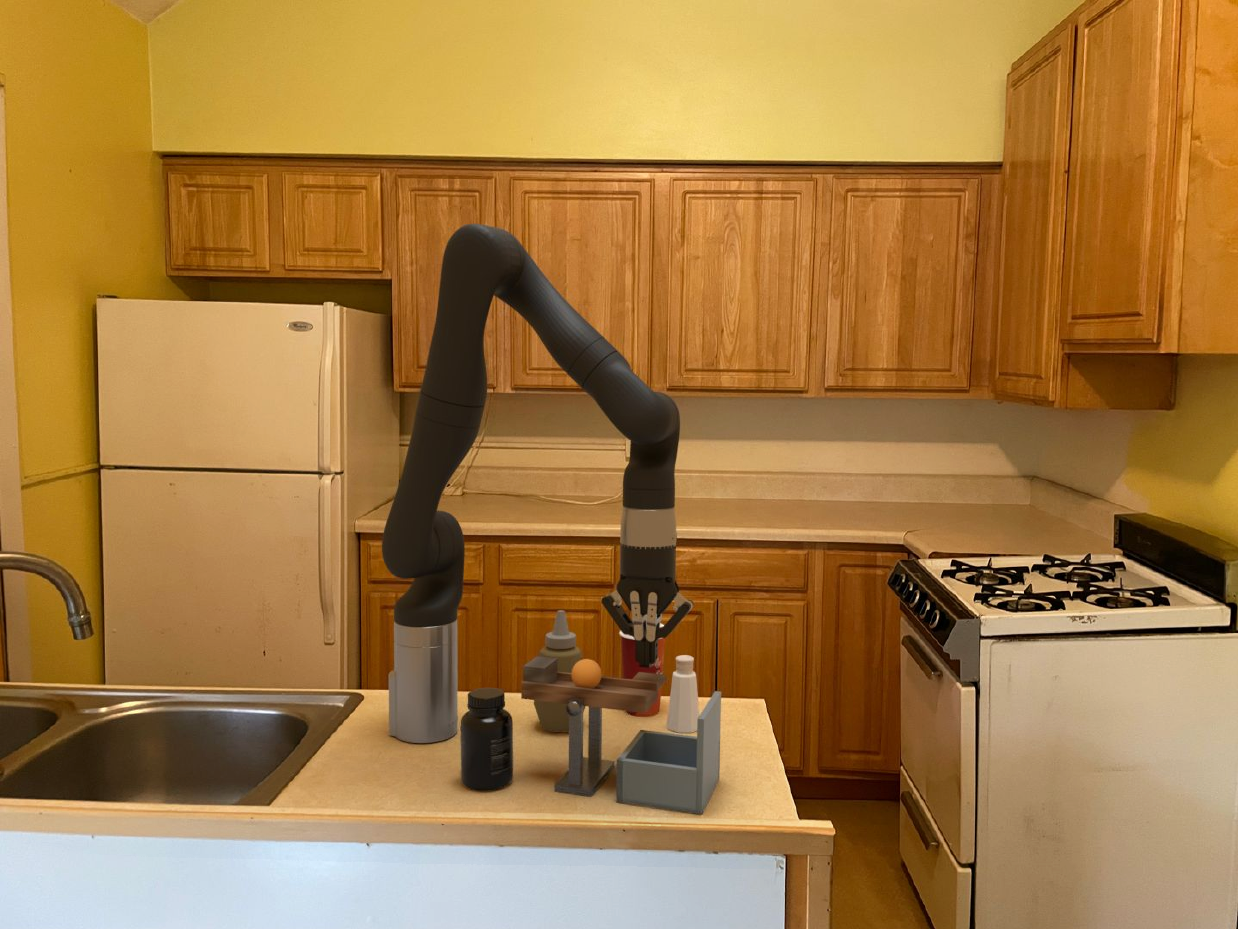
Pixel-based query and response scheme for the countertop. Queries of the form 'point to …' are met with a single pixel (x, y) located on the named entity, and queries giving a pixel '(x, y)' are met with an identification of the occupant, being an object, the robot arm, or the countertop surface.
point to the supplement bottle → (486, 741)
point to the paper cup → (641, 668)
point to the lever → (608, 694)
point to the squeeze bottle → (567, 656)
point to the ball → (586, 674)
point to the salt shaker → (683, 697)
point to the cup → (673, 766)
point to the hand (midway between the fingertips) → (646, 666)
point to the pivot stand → (582, 770)
